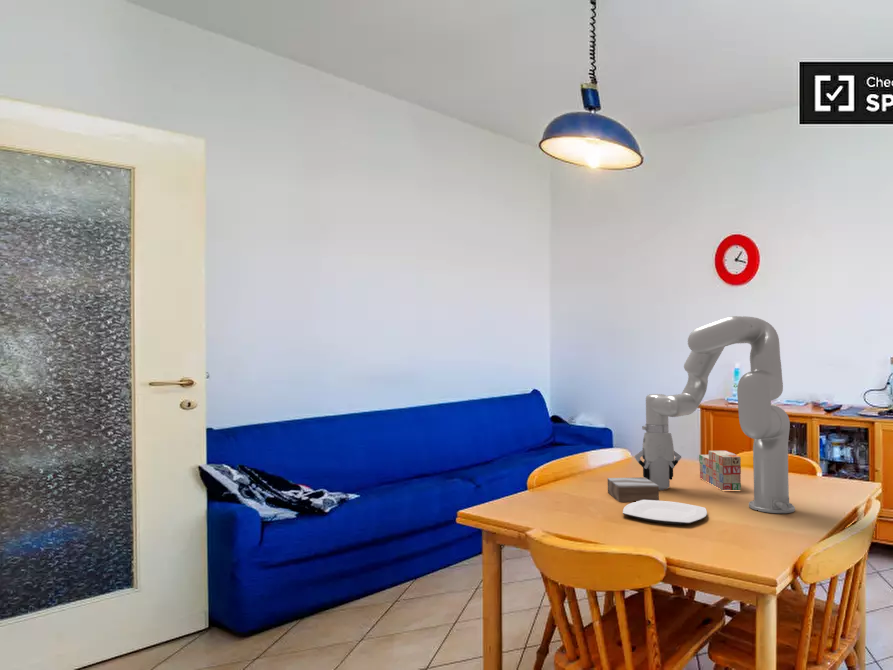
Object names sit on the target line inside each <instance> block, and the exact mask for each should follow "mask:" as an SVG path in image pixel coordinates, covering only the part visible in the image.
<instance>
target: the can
mask: <svg viewBox="0 0 893 670" xmlns="http://www.w3.org/2000/svg"><path fill="white" fill-rule="evenodd" d="M657 457H658V458H657V459H656V460H654V462H650V464H649V466H648V469H649V480H650V481H652V482H653V483H655V484H657V485H658V486H659V491H665V490H664V489H666V490H668V489H669V488H670V487H671V486H670V481H671V480H670V479H669V462H668V460H666V459H664V458H663V457H664V456H657Z"/></svg>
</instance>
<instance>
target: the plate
mask: <svg viewBox="0 0 893 670" xmlns="http://www.w3.org/2000/svg"><path fill="white" fill-rule="evenodd" d="M622 514H623V515H626V516H630V517H632V518H635V519H639V520H642V521H646V522H653V523H660V524H669V525H679V524H680V525H687V524H691V523H694V522H698V521H701V520H703V519H704V518H706V517H707V515H708V512H707V509H706V507H703V506H700V505H695V504H691V503H690V504H689V503H684V502H678V501H669V500H666V501H665V500H659V501H658V500H640V501H636V502H630V503H628V504H626V505H625V506H624V507H623V509H622ZM680 525H679V526H680Z"/></svg>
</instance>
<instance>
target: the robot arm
mask: <svg viewBox="0 0 893 670" xmlns="http://www.w3.org/2000/svg"><path fill="white" fill-rule="evenodd" d="M734 344H749V345H750V352H749V363H750V364H749V365H750V371H748V372H747V373H745V374H742V376H741V377H740V378H739V380H738V384H737V387H736V391H737V392H736V394H737V407H738V408H737V409H738V420H739V425H740V428H741V431H742V432H743V433H744V435H745V436H747V437H748V438H751V439H752V440H753V446H752V461H753V463H752V465H753V467H752V468H753V500H751V501H748V507H749V508H750V509H752V510H753V511H754V510H755V511H757V510H758V511H757V512H763V513H768V514H769V513H771V514H791V513H794V512H795V511H796V507H795V505H794V504H792V503H791V502H790V496H789V495H790V494H789V493H790V490H789V485H790V484H789V436H790V430H791V428H790V427H791V425H790V424H791V421H790V418H789V415H788V414H787V412H786V411H785V410H784V409H783V408H782V407H780V406H777V405H773V404H772V401H774V400H777V399H778V398H780V397H781V396H782V393H783V391H784V381H783V373H782V369H783V368H782V360H781V347H780V338H779V334H778V332H777V330H776V329H775V327H774V326H773V325H772V324H770V322H768V321H766V320H764V319H761V318H758V317H753V316H744V315H743V316H738V315H736V316H733V315H732V316H729V317H728V316H727V317H724V318H721V319H719V320H716V321H713V322H711V323H708V324H705V325H703V326H702V325H701V326H700V327H697V328H695V329H693V330H692V331H691V332H690V333H689V335H688V337H687V345H688V347H689V349H690V350H691V351H690V353H689V355H688V357H687V359H686V360H685V362H684V364H683V368H684V371H686V372H687V375H688V377H687V382H686V385H685V386H684V388H683V390H682V392H681V393H679V394H677V393H676V394H670V395H666V394H662V393H652V394H647V395H646V397H645V425H643V426H642V428H641V429H642V430H643V431H645V432H644V433H643V434H644V435H643V438H642V450H641V451H639V452H637V454H635V456H633V457H634V459H635V460H636V462H637V463H638V465H639V466H641V467H642V476H643V477H645V478H647V479H648V480H649V469H648V466H649V464H650V462H654V460H656V459H657V458H658V457H657V456H664V457H663V458H664V459H666V460H668V462H669V481H671V480H673V477H674V468H675V467H676V466H677V464H678V463H679V462H680V460H681V459H682V455H680V454H679V453H677V452H676V451H675V450H674V449H675V448H674V441H673V435H672V433H670V432H669V430H670V429H669V417H670V418H679V417H683V416H690V415H692V414H693V413H695V411H696V410H697V409H698V408H699V406H700V404H701V402H702V401H703V399H704V397H705V395H706V393H707V389H708V384H709V383H708V381H709V380H708V379H709V376H710V373H712V371H713V369H714V367H715V364H716V363H717V361H718V360H719V358H720V356H721V354H722V352H723V351H724V349H725V347H728V346H732V345H734ZM641 457H642V459H643V461H642V459H641Z"/></svg>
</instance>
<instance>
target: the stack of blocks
mask: <svg viewBox="0 0 893 670" xmlns="http://www.w3.org/2000/svg"><path fill="white" fill-rule="evenodd" d="M698 457H699V458H698V463H699V478H702V479H703V480H705V481H707V482H709V483H711V484H713V485H714V486H716V487H718V488H720V489H721V490H741V491H742V483H741V482H742V481H741V477H742V476H741V474H742V471H741V470H742V468H741V467H742V466H741V461H742V458H741V456H739V455H737V454H735V453H733V452H730V451H728V450H708V454H699V455H698ZM702 479H701V480H702ZM703 480H702V481H703ZM705 481H704V482H705ZM707 482H706V483H707ZM714 486H713V487H714ZM716 487H715V488H716ZM721 490H720V491H721Z"/></svg>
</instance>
